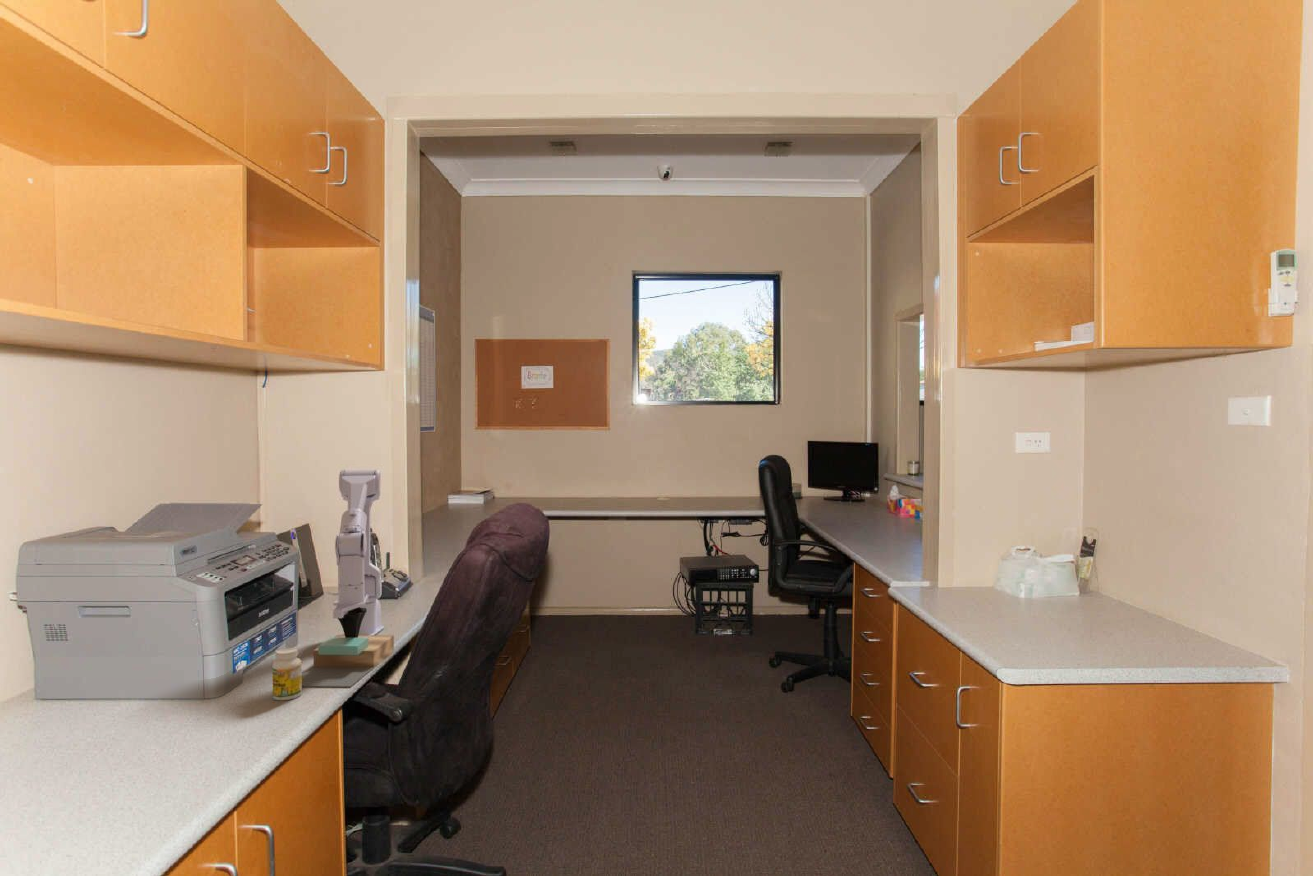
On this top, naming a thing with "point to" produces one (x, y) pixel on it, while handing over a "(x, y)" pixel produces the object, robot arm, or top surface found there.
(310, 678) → the mat
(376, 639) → the wooden block
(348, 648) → the mint green block
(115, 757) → the top surface
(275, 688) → the supplement bottle
